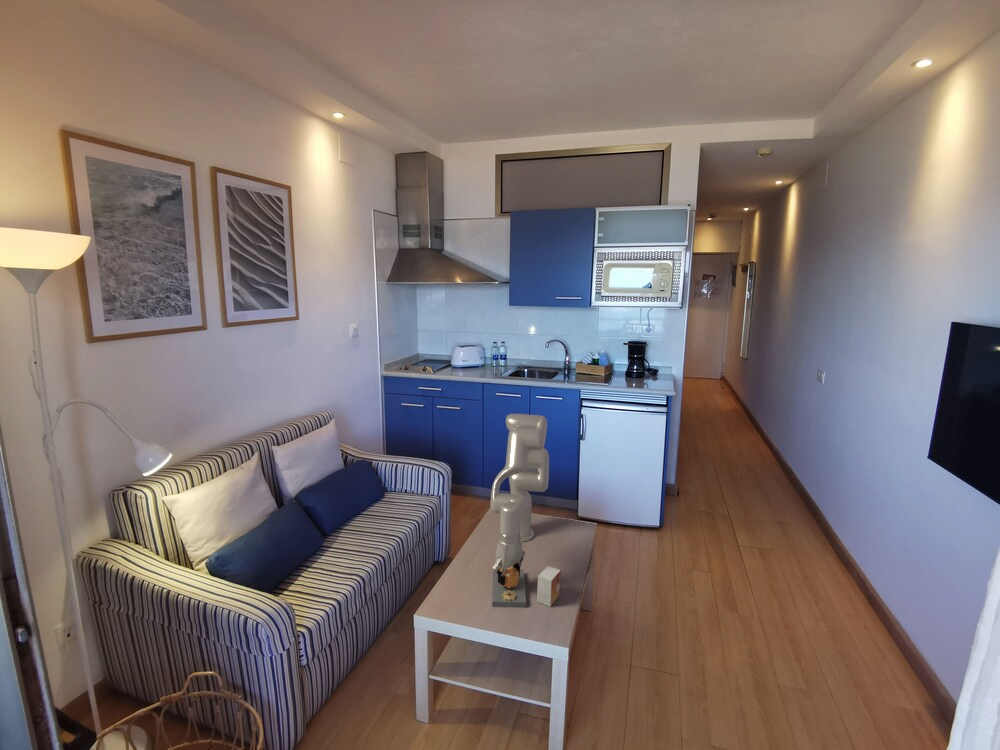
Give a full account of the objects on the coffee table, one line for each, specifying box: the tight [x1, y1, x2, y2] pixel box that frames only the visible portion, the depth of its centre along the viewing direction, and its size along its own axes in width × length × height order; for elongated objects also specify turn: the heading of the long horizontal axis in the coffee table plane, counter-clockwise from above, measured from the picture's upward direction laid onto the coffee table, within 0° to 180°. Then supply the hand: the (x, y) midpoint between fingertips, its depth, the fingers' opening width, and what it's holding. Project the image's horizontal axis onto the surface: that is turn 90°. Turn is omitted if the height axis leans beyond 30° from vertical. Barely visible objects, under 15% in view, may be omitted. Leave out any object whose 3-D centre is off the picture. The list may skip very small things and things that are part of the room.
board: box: [491, 569, 527, 608], centre depth 184 cm, size 20×12×6 cm, turn 0°
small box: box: [536, 565, 561, 608], centre depth 179 cm, size 8×6×10 cm
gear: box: [501, 566, 519, 588], centre depth 183 cm, size 7×7×4 cm
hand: (508, 579), depth 184 cm, fingers open, 7 cm apart
